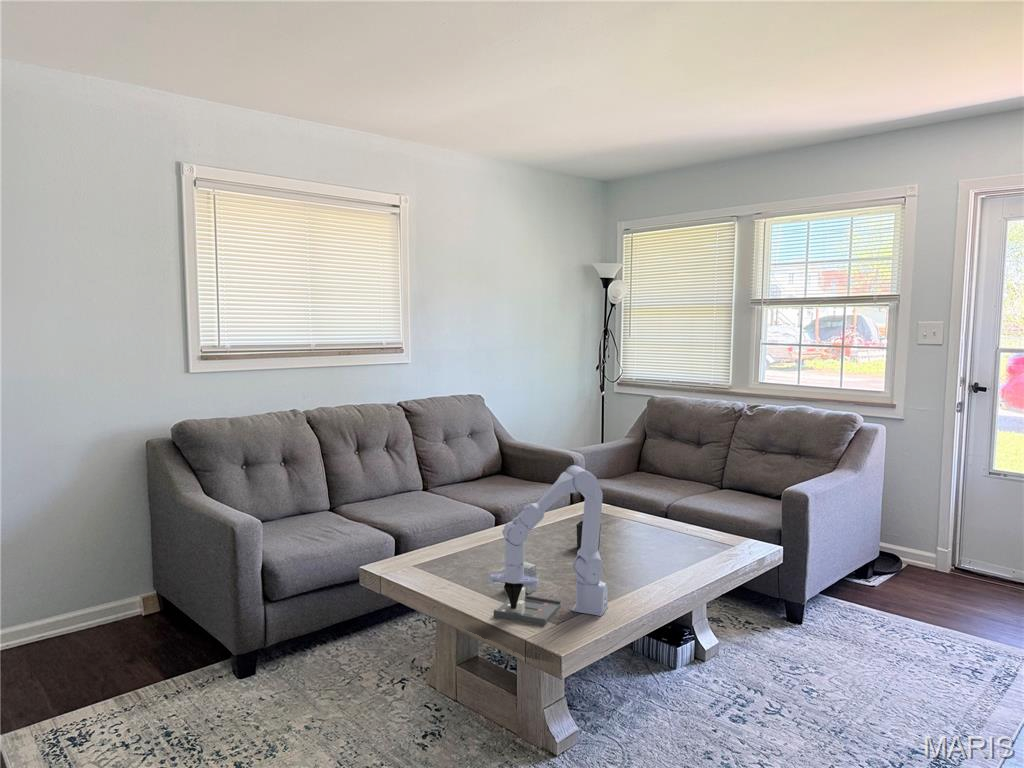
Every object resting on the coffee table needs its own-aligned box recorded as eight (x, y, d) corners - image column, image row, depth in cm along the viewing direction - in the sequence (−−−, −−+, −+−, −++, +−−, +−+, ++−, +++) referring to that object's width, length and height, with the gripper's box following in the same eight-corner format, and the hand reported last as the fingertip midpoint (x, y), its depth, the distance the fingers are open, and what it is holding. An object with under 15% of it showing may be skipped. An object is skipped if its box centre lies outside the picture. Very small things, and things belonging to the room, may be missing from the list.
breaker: (525, 598, 216) (525, 587, 216) (522, 601, 214) (522, 590, 213) (520, 597, 216) (520, 586, 216) (517, 600, 214) (517, 589, 214)
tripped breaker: (524, 612, 205) (524, 600, 205) (521, 615, 203) (521, 603, 203) (519, 611, 206) (519, 600, 206) (516, 614, 204) (516, 603, 203)
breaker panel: (560, 607, 213) (560, 600, 213) (544, 626, 199) (544, 619, 199) (512, 598, 219) (512, 592, 219) (493, 617, 205) (493, 610, 205)
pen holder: (604, 550, 268) (605, 525, 267) (583, 553, 264) (583, 527, 264) (593, 543, 277) (593, 519, 276) (572, 546, 273) (572, 521, 272)
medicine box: (536, 590, 226) (536, 564, 226) (527, 594, 223) (527, 568, 222) (518, 584, 232) (518, 559, 231) (509, 588, 228) (509, 562, 228)
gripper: (541, 560, 206) (540, 604, 207) (494, 556, 210) (494, 599, 211) (536, 568, 199) (535, 614, 200) (487, 563, 203) (487, 608, 204)
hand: (513, 607), depth 205 cm, fingers closed
